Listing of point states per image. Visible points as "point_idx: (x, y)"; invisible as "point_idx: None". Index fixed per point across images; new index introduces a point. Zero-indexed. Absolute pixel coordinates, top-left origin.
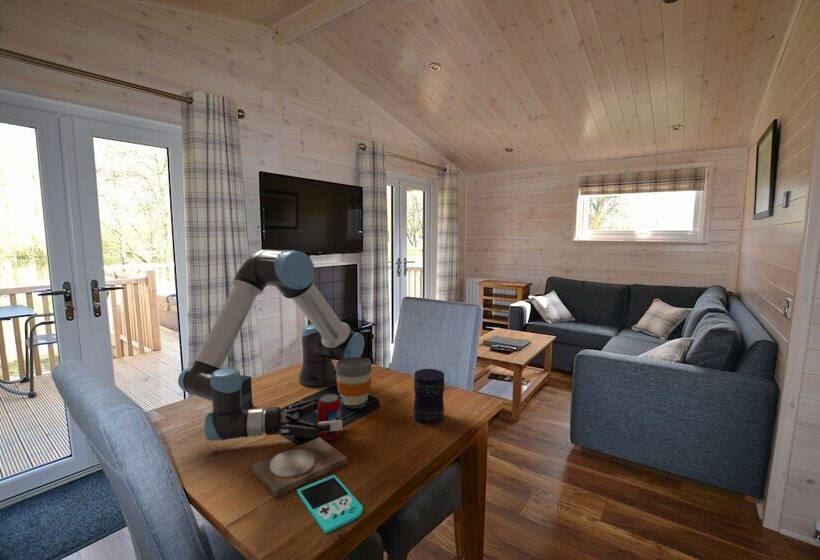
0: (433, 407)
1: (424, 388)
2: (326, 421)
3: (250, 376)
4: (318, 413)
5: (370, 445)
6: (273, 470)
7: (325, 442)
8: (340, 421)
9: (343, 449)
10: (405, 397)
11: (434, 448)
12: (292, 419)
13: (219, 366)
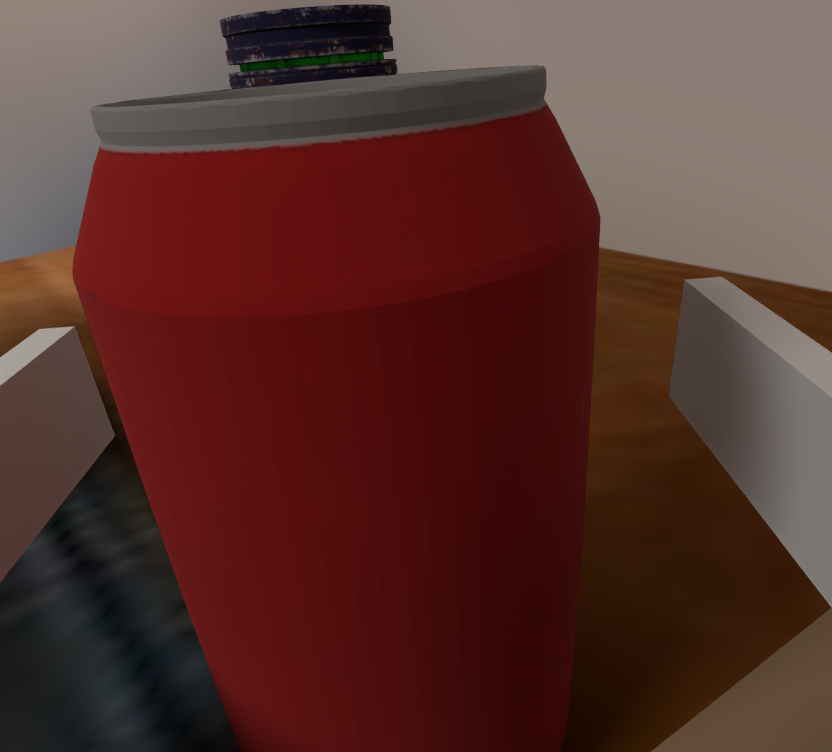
0: None
1: (380, 66)
2: (821, 380)
3: None
4: (454, 501)
5: (616, 411)
6: None
7: (744, 701)
8: (732, 290)
9: (721, 560)
10: (68, 308)
11: (619, 262)
12: None
13: None
